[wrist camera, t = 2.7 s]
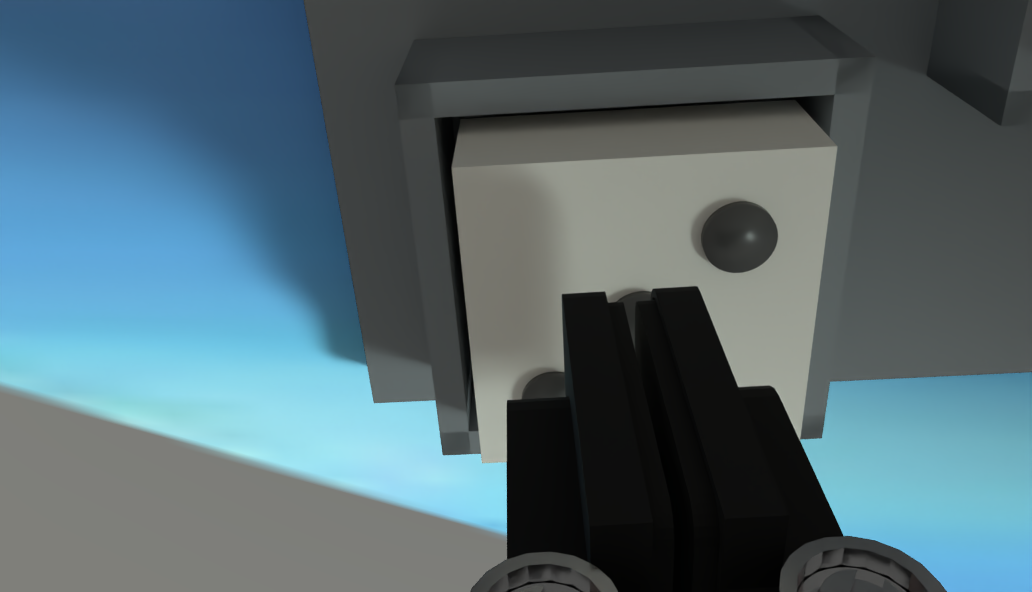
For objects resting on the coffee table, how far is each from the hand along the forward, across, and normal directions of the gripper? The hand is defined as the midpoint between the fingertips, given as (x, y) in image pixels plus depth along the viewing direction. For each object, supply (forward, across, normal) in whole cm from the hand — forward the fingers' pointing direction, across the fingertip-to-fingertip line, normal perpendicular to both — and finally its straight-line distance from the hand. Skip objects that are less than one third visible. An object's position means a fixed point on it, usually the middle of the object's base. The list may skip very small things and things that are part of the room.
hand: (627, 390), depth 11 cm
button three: (+4, 0, 0) cm, 4 cm away
